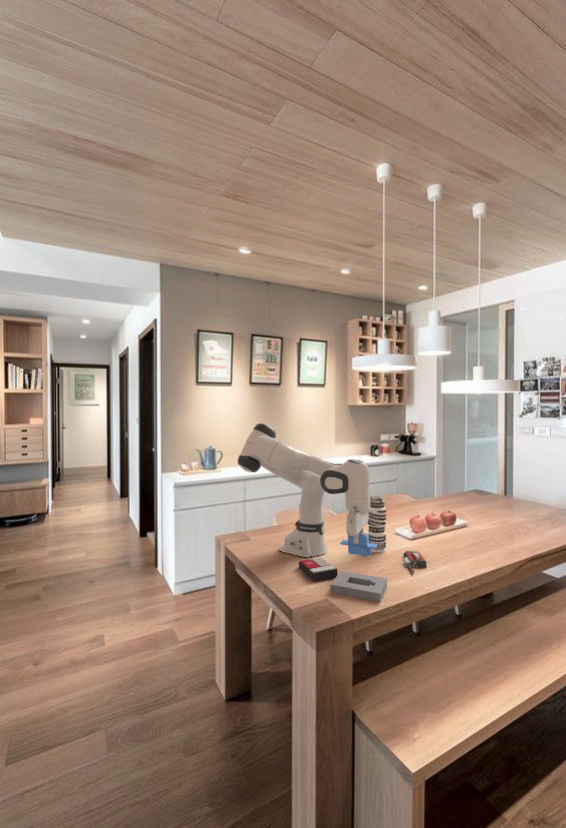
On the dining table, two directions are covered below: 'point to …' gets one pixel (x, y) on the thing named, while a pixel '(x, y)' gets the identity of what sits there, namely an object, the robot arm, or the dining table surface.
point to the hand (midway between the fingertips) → (358, 540)
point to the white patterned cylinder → (377, 523)
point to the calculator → (318, 569)
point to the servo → (359, 545)
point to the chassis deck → (359, 586)
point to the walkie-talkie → (414, 560)
